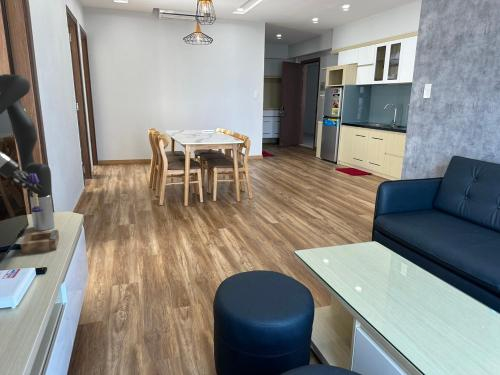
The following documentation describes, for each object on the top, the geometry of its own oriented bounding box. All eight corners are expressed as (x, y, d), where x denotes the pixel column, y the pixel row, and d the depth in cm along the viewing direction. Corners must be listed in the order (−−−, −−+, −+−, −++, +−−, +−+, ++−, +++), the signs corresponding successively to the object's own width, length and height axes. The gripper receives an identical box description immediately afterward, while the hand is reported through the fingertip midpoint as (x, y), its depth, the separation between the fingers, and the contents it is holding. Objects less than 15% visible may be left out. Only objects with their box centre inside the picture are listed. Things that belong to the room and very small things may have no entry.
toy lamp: (38, 212, 151) (34, 174, 148) (27, 212, 152) (23, 174, 148) (44, 209, 156) (41, 172, 153) (34, 209, 156) (30, 172, 153)
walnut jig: (21, 254, 150) (20, 243, 149) (27, 242, 162) (26, 232, 161) (56, 250, 155) (54, 239, 154) (59, 239, 167) (58, 229, 165)
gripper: (5, 160, 139) (42, 188, 147) (14, 155, 152) (48, 181, 160) (-9, 174, 139) (29, 201, 146) (1, 167, 152) (36, 193, 159)
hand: (39, 190), depth 153 cm, fingers closed on toy lamp, 4 cm apart
